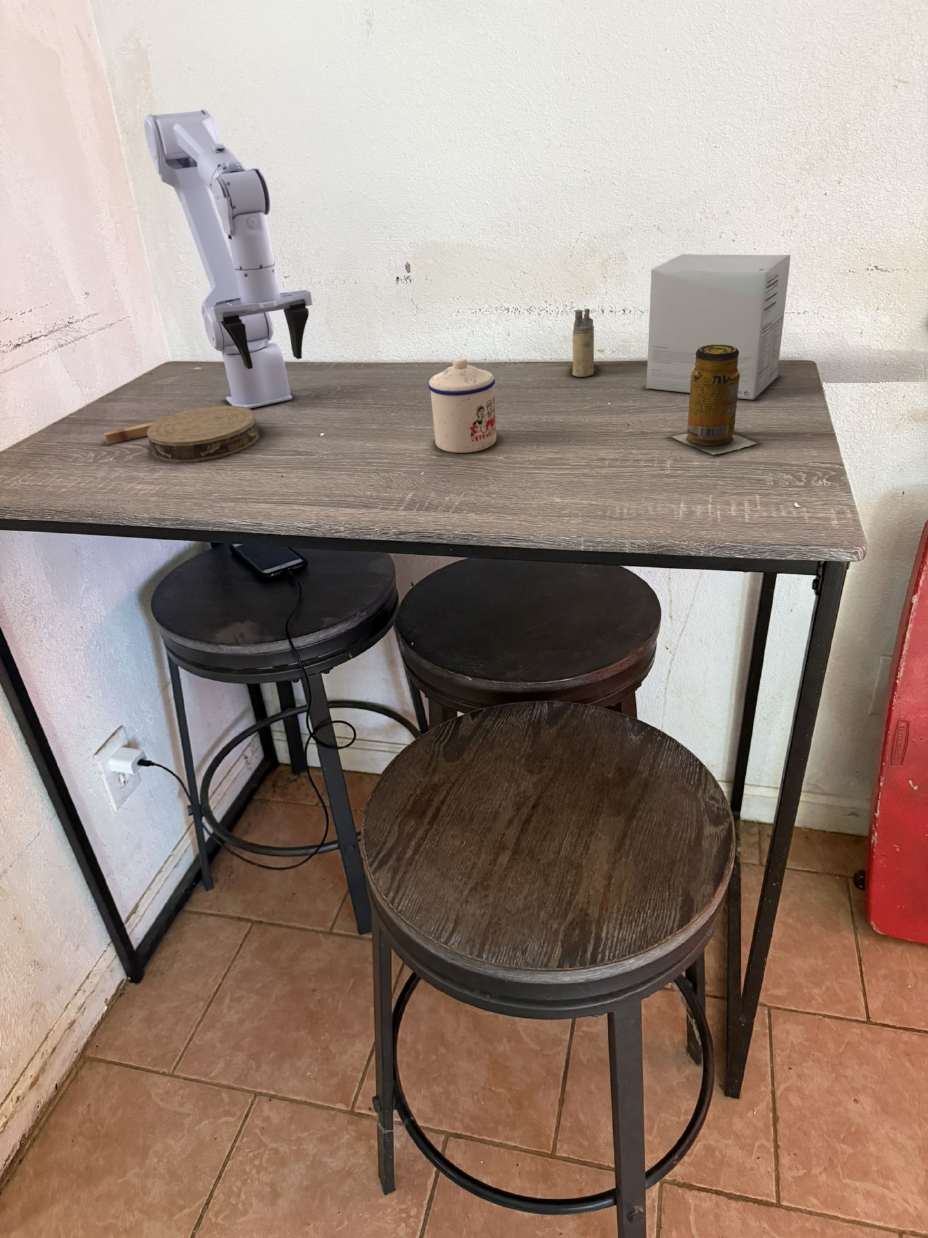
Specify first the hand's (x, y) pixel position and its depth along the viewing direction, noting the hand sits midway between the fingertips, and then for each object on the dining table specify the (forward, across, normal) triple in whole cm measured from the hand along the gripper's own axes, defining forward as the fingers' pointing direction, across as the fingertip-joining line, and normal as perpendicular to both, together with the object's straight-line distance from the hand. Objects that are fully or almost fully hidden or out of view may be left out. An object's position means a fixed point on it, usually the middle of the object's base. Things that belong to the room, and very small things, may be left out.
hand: (273, 362), depth 127 cm
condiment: (+10, +45, -47) cm, 66 cm away
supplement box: (+10, +62, -28) cm, 68 cm away
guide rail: (+9, -17, +10) cm, 21 cm away
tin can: (+10, -13, 0) cm, 16 cm away
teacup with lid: (+10, +20, -25) cm, 33 cm away
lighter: (+10, +50, -9) cm, 52 cm away
